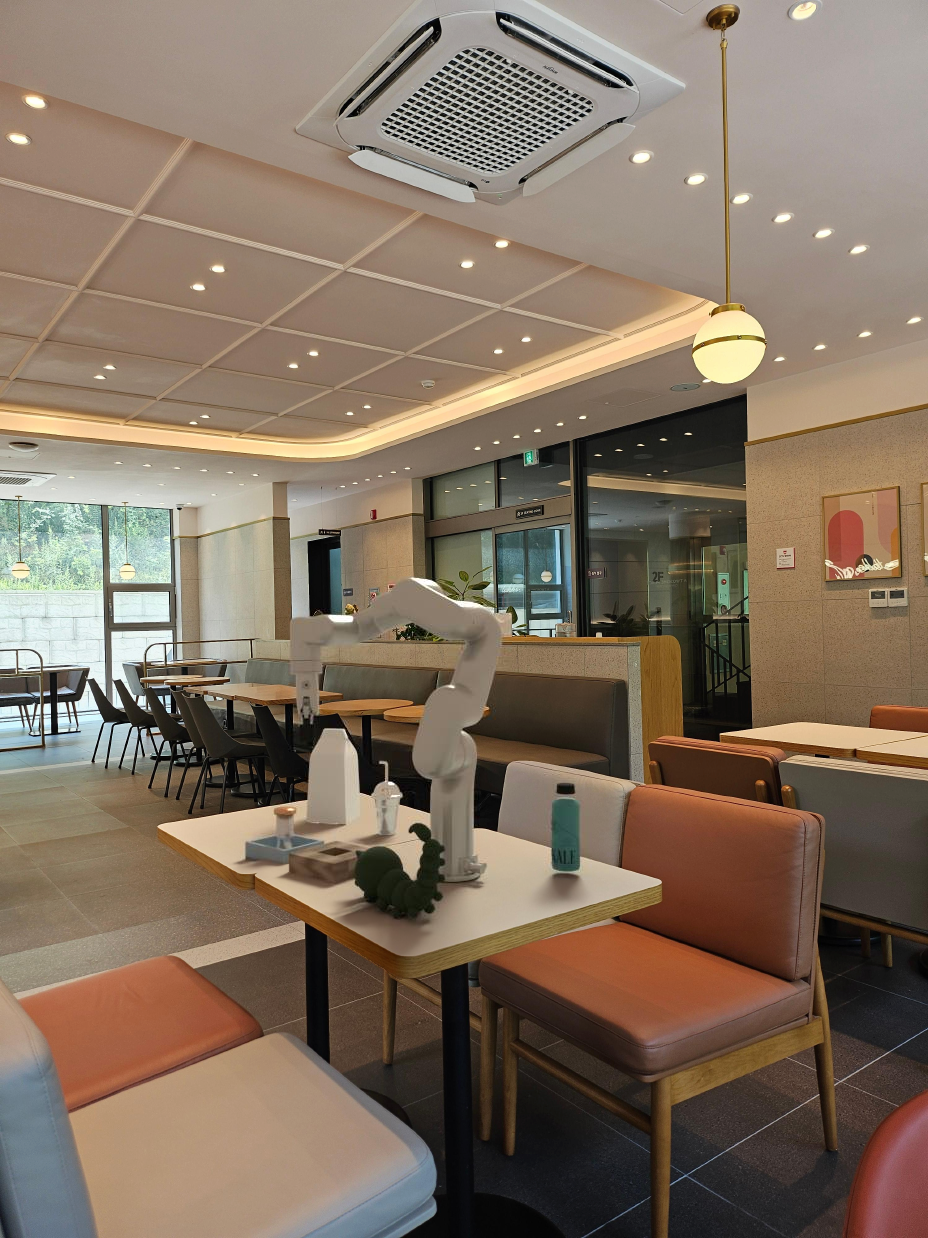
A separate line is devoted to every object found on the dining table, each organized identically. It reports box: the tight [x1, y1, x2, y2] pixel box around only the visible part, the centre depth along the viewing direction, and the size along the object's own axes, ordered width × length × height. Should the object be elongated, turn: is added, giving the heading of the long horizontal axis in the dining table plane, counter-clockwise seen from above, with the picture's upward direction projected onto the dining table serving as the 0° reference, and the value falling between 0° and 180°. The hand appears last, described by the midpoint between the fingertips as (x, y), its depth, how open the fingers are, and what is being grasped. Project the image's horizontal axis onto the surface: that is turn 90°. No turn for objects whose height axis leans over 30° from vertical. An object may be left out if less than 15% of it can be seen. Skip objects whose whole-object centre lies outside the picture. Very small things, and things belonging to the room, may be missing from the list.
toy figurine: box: [354, 822, 446, 919], centre depth 158 cm, size 9×19×25 cm
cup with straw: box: [370, 760, 404, 836], centre depth 221 cm, size 8×9×20 cm
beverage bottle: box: [550, 782, 581, 873], centre depth 181 cm, size 6×7×20 cm
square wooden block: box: [288, 840, 370, 884], centre depth 181 cm, size 14×14×5 cm
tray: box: [244, 834, 325, 865], centre depth 195 cm, size 14×12×4 cm
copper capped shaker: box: [273, 806, 297, 850], centre depth 195 cm, size 5×5×11 cm
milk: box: [305, 728, 362, 825], centre depth 238 cm, size 12×12×26 cm
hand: (307, 739), depth 198 cm, fingers open, 9 cm apart
